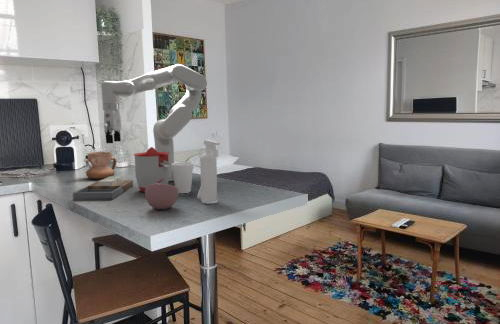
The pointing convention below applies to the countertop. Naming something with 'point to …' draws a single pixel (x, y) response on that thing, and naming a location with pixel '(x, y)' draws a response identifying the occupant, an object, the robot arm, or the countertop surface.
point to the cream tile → (107, 182)
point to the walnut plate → (124, 183)
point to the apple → (161, 195)
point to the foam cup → (182, 176)
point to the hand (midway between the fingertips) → (113, 142)
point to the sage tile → (119, 178)
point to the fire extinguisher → (208, 172)
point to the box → (97, 194)
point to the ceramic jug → (100, 165)
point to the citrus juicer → (151, 168)
